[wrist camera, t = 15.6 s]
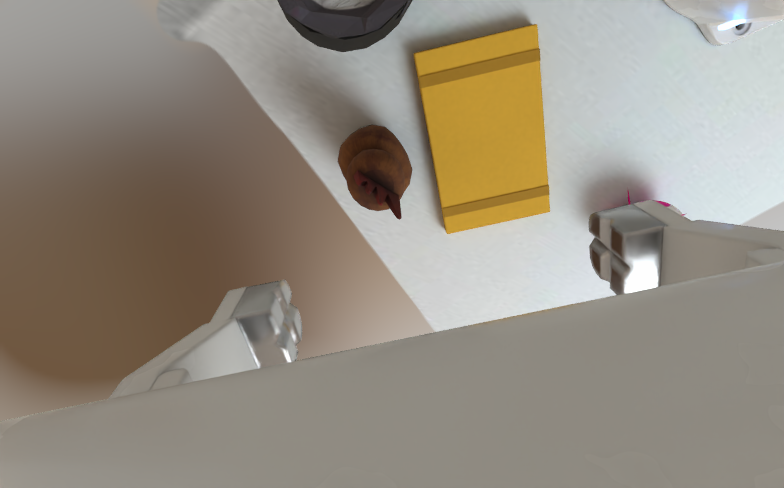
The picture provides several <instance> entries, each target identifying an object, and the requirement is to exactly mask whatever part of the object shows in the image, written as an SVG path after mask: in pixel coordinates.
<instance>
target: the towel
mask: <svg viewBox="0 0 784 488" xmlns="http://www.w3.org/2000/svg"><path fill="white" fill-rule="evenodd" d="M413 55H414V60H415V66H416V71H417V77H418V82H419V88H420V93H421V99H422V104H423V110H424V115H425V121H426V126H427V132H428V137H429V143H430V148H431V154H432V159H433V165H434V170H435V176H436V181H437V187H438V192H439V198H440V203H441V209H442V214H443V220H444V225H445V230H446V233H447V234H450V233H455V232H459V231H464V230H468V229H473V228H478V227H482V226H487V225H491V224H496V223H501V222H505V221H510V220H515V219H519V218H524V217H528V216H533V215H538V214H542V213H547V212H550V205H549V185H548V176H547V161H546V146H545V132H544V117H543V102H542V88H541V73H540V49H539V44H538V29H537V24H534V25H529V26H525V27H520V28H516V29H512V30H508V31H504V32H500V33H495V34H491V35H487V36H483V37H479V38H475V39H470V40H466V41H462V42H458V43H454V44H450V45H445V46H441V47H437V48H433V49H429V50H425V51H420V52H416V53H414V54H413Z"/></svg>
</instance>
